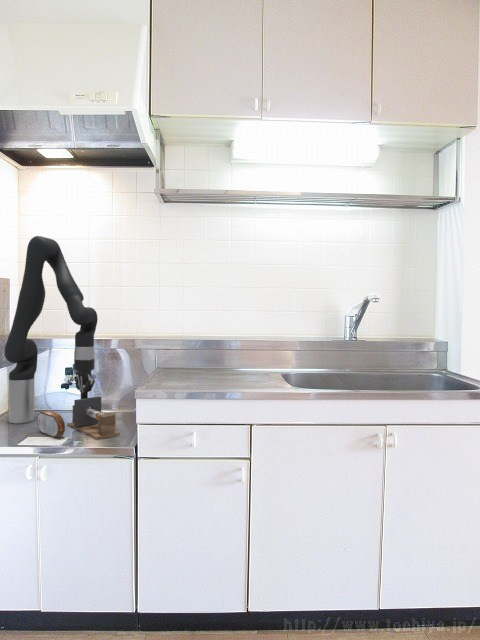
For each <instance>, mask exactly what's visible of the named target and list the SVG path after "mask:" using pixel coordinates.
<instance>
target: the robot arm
mask: <svg viewBox="0 0 480 640" xmlns="http://www.w3.org/2000/svg"><path fill="white" fill-rule="evenodd" d="M25 255H26V256H25V257H26V258H25V264H24V265H25V266H24V272H23V276H22V283H21V288H20V291H19V294H18V299H17V303H16V309H15V314H14V317H13V322H12V325H11V329H10V331H9V335H8V337H7V339H6V343H5V346H4V357H5V360H7V362H8V363H11V364H16V365H15V367H14V368H13V369H12V370H11V371H9V373H8V423H10V424H26V423H31V422H33V421H34V420H35V375H36V372H37V367H38V356H39V355H38V346H37V343H36V342H35V340H33V339H29V338H28V334H29V331H30V329H31V327H32V326H34V323H35V322H36V321H37V319H38V318H39V317H40V315H41V313H42V312H43V308H44V303H45V299H46V288H45V284H44V280H43V269H44V266H45V262H46V263H47V264H48V265H49V266H50V268H51V269H52V271H53V273H54V276H55V281H56V282H55V283H56V286H57V290H58V291H59V293H60V295H61V297H62V298H63V300H64V302H65V303H66V308H67V311H68V314H69V316H70V318H71V320H72V321H73V323H74V324H75V325H77V326H80V328H79V330H78V331H77V332H75V335H74V352H73V353H74V354H73V355H74V356H73V368H74V371H77V372H76V373H77V375H76V376H74V377H73V378H74V382H75V384H76V388H77V390H78V391H79V393H80V399H84V398H89V395H88V394H89V392H92V389H93V387H94V386H95V385H94V384H95V383H96V381H95V379H92V371H93V370H95V361H96V359H95V355H96V354H95V353H96V351H95V334H96V330H97V325H98V313H97V311H96V310H95V308H93V307H90V306H86V307H85V305H84V303H83V301H84V294H83V293H82V291H81V289H80V287H79V286H78V285H77V283H76V281H75V279H74V277H73V275H72V273H71V271H70V269H69V266H68V264H67V262H66V260H65V257H64V254H63V252H62V249H61V246H60V245H59V243H58V242H57V241H56V240H54V239H53V238H49V237H45V236H41V235H35V236H33V237H31V239H30V240H29V242H28V245H27V248H26V254H25Z"/></svg>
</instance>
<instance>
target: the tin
mask: <svg viewBox="0 0 480 640" xmlns="http://www.w3.org/2000/svg"><path fill="white" fill-rule="evenodd" d="M37 427H38V429H39V431H40V432H41V433H42V434H44V435H47V436H49V437H52V438H55V439H56V438H59V437H62V436H64V435H65V431H66V423H65V420H64V417H62V415H61V414H59V413H58V412H54V411H51V410H48V409H46V410H43V411H40V412H39V413H38V414H37Z"/></svg>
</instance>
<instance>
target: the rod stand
mask: <svg viewBox="0 0 480 640" xmlns="http://www.w3.org/2000/svg"><path fill="white" fill-rule="evenodd" d="M71 415H72V417H71V419H72V422H67V427H69V428H71V429H74V430H75V431H77V432H79V433H82V434H84V435H86V436H88V437H89V438H92V439H94V440H96V441H99V440H103V439H108V438H112V437H116V436H120V435H121V434H120V433H121V432H120V431H118V430H116V414H114V413H104V412H103V411H101V412H99V411H96V410H93V409H91V408H85V415H88V416H91V417H93V418H96V420H98V423H95V424H90V425H85V426H80V427H75V426H74V404H73V405H72V414H71Z"/></svg>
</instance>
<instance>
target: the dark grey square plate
mask: <svg viewBox="0 0 480 640" xmlns="http://www.w3.org/2000/svg"><path fill="white" fill-rule="evenodd" d="M73 405H74V426H75V427H80V426H85V425H90V424H95V423H98V420H96V418H93V417H91V416H88V415H85V408H91V409H93V410H96V411H99V412H102V397H101V396H91V397H88V398H84V399H81V398H80V399H74V404H73Z"/></svg>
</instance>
